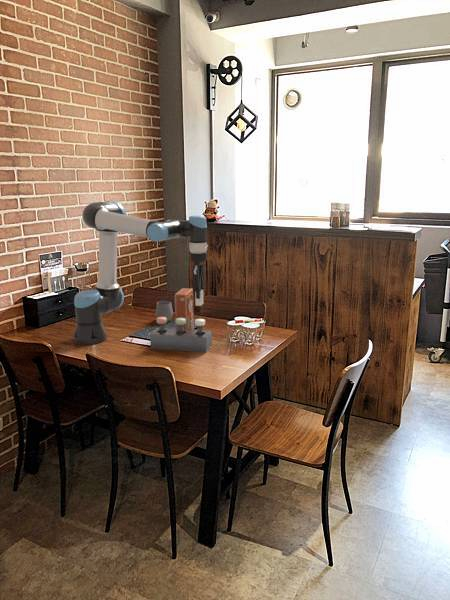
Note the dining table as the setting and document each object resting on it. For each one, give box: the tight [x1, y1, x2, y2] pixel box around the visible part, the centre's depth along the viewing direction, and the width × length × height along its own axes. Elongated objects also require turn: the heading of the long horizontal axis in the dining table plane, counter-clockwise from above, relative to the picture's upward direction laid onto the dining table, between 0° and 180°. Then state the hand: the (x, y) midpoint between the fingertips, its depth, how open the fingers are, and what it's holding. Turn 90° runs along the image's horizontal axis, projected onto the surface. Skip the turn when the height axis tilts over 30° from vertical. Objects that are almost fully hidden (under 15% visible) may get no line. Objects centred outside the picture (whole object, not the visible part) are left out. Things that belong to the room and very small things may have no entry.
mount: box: [149, 327, 213, 353], centre depth 228 cm, size 26×10×7 cm, turn 78°
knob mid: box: [175, 318, 186, 334], centre depth 227 cm, size 5×5×8 cm
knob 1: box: [155, 317, 168, 333], centre depth 228 cm, size 5×5×8 cm
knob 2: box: [194, 318, 206, 335], centre depth 225 cm, size 5×5×8 cm
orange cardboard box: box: [174, 287, 195, 330], centre depth 246 cm, size 21×7×15 cm
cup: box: [155, 300, 174, 322], centre depth 269 cm, size 10×9×10 cm
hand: (199, 304), depth 222 cm, fingers open, 2 cm apart
